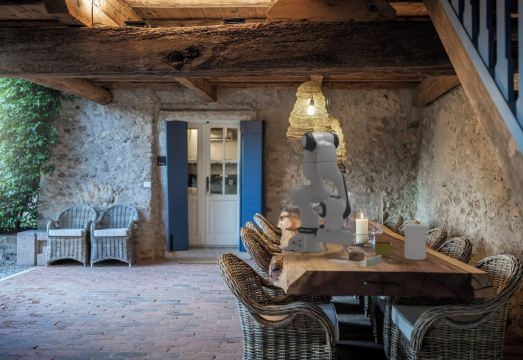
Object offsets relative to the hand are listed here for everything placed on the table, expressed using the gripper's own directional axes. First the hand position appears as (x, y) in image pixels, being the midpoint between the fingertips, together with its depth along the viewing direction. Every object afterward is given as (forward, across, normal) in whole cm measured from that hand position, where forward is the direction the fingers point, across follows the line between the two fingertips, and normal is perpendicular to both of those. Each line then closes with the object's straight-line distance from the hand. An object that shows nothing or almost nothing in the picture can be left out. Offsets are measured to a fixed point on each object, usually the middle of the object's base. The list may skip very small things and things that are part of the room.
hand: (334, 252), depth 245 cm
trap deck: (+4, -12, +3) cm, 13 cm away
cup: (+5, -32, -34) cm, 47 cm away
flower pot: (+5, -19, -20) cm, 28 cm away
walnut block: (+3, -12, 0) cm, 13 cm away
